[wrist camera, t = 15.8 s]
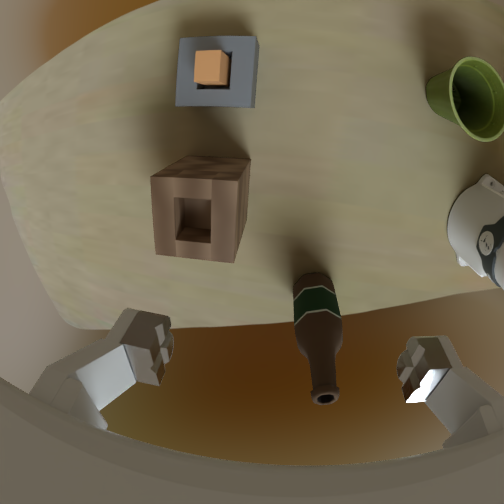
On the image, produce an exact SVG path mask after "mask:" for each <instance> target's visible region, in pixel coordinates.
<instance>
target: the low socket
mask: <svg viewBox="0 0 504 504" xmlns="http://www.w3.org/2000/svg"><path fill="white" fill-rule="evenodd" d="M205 50H222V51H223V52H224V53H225V54H226V55H227V56H228V57H229V58H230V59H231V60H232V65H231V78H230V87H225V86H214V87H210V86H206V85H203V84H200V83H196V82H194V69H195V54H196V51H205ZM258 56H259V44H258V41H257V38H256V36H204V37H188V38H180V43H179V55H178V68H177V83H176V103H175V106H221V107H246V108H255V95H256V82H257V69H258Z"/></svg>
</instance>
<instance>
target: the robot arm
mask: <svg viewBox="0 0 504 504" xmlns="http://www.w3.org/2000/svg"><path fill="white" fill-rule="evenodd" d="M490 183H491V185H490ZM447 231H448V238H449V241H450V244H451V246H452V247H453V249H454V250H455V252H456V256H457V262H458V263H459V264H460V265H461V266H468V265H469V266H470V267H471V268H472V269H473V270H474V271H475V272H476V273H477V274H478V275H480V276H481V277H483V276H488V277H489V279H490V280H491V281H492V282H494V283H495V284H496V285H497V286H499V287H501V288H503V290H504V186H503V185H502V184H500V183H499V182H498V181H496V180H495V179H494V178H492V177H491V176H490V175H488V174H485V175H483V176H482V178H481V179H480V180H479V181H478V183H477V184H475V185H473V186H471V187H469V188H468V189H466V190H465V191H464V192H463V193H462V194H461V195H460V196H459V197H458V199H457V200H456V201H455V203H454V205H453V207H452V209H451V212H450V215H449V219H448V227H447ZM170 327H171V322H170V317H168V316H165V315H160V314H155V313H151V312H146V311H139V310H135V309H131V308H127V309H125V310H124V311H123V312H122V314H121V315H120V317H119V318H118V320H117V321H116V323H115V324H114V326H113V327H112V329H111V330H110V332H109V334H108V335H107V337H106V338H105V339H99V340H97V341H95V342H93V343H92V344H90V345H88V346H86V347H84V348H82V349H80V350H78V351H76V352H74V353H72V354H71V355H68V356H66V357H65V358H63V359H61V360H59V361H57V362H55V363H53V364H51V365H49V366H47V367H46V369H45V370H44V371H43V373H42V374H41V376H40V378H39V379H38V381H37V382H36V384H35V385H34V387H33V388H32V390H31V391H30V393H29V394H28V393H26V392H24V391H22V390H21V389H19V388H17V387H15V386H14V385H12V384H10V383H9V382H7V381H6V380H4V379H3V378H1V377H0V504H504V397H503V396H502V395H500V394H499V393H498V392H497V391H496V390H494V389H493V388H492V387H491V386H489V385H488V384H487V383H486V382H485V381H483V380H482V379H481V378H480V377H478V376H477V375H476V374H475V373H473V372H472V371H471V370H470V369H468V368H467V367H463V365H462V363H461V361H460V359H459V357H458V355H457V353H456V351H455V349H454V347H453V345H452V343H451V342H450V340H449V338H448V337H447V336H425V337H411V338H410V339H409V340H408V342H407V344H406V346H407V350H405V351H404V352H403V353H401V355H400V357H399V359H398V363H397V374H398V378H399V379H400V380H401V381H402V382H403V383H404V384H403V386H402V391H403V395H404V398H405V402H406V403H409V402H420V401H425V403H426V405H427V406H428V407H429V408H430V409H431V410H432V412H433V413H434V414H435V415H436V416H437V417H438V419H439V420H440V421H441V422H442V423H443V424H444V426H445V427H446V428H447V429H448V430H449V432H450V433H451V434H452V435H451V436H450V437H449V438H448V439H447V440H445V441H444V443H443V449H441V450H437V451H433V452H429V453H424V454H420V455H415V456H410V457H404V458H398V459H392V460H385V461H377V462H369V463H359V464H347V465H327V466H288V465H269V464H256V463H246V462H237V461H229V460H222V459H216V458H210V457H204V456H198V455H194V454H188V453H184V452H179V451H175V450H171V449H167V448H163V447H158V446H155V445H151V444H148V443H144V442H141V441H138V440H134V439H131V438H128V437H125V436H122V435H119V434H116V433H113V432H111V431H108V430H106V428H107V426H108V425H107V423H106V421H105V419H104V418H103V416H102V415H101V413H100V412H99V410H101V409H102V408H103V407H105V406H106V405H107V404H109V403H110V402H111V401H113V400H114V399H115V398H116V397H118V396H119V395H120V394H122V393H123V392H124V391H126V390H127V389H128V388H129V387H130V386H132V385H133V384H135V383H136V381H139V382H143V383H148V384H152V385H157V386H160V384H161V381H162V378H163V376H164V373H165V367H164V364H165V363H167V362H169V361H170V358H171V355H172V351H173V335H172V334H171V332H170V331H169V329H170Z"/></svg>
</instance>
